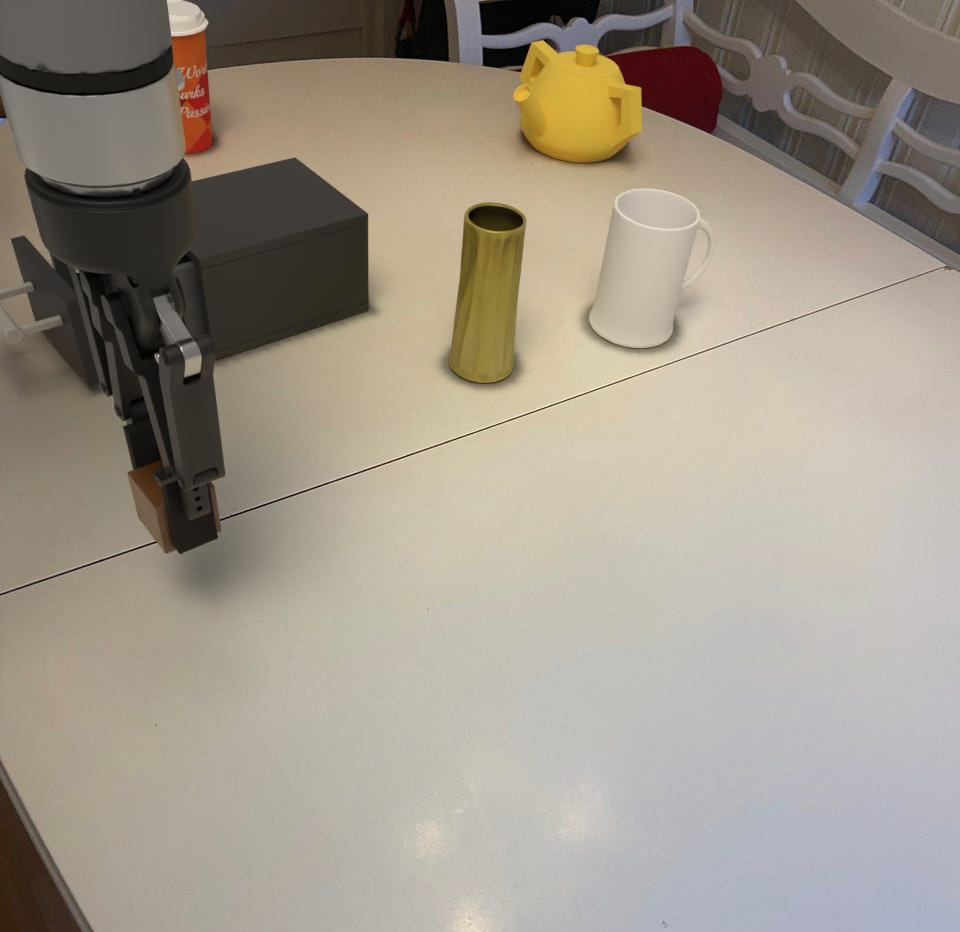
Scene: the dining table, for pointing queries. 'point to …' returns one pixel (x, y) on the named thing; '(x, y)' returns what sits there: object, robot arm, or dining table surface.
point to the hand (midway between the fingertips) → (179, 520)
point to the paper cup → (192, 72)
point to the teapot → (576, 104)
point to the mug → (646, 266)
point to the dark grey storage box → (276, 254)
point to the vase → (488, 292)
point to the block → (157, 504)
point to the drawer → (76, 306)
